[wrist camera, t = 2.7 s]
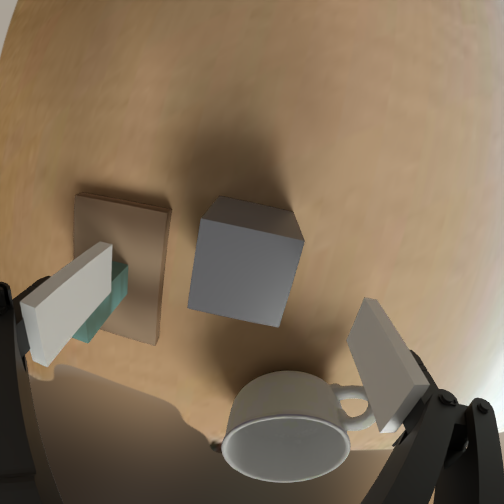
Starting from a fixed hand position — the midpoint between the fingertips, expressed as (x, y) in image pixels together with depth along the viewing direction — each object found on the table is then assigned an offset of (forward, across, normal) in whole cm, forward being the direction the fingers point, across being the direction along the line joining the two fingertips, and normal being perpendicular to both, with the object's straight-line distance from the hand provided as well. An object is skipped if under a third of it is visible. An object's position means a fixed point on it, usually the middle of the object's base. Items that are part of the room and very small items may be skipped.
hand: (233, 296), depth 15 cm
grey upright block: (+8, 0, 0) cm, 8 cm away
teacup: (+9, +8, -14) cm, 18 cm away
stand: (+8, -10, -5) cm, 14 cm away
